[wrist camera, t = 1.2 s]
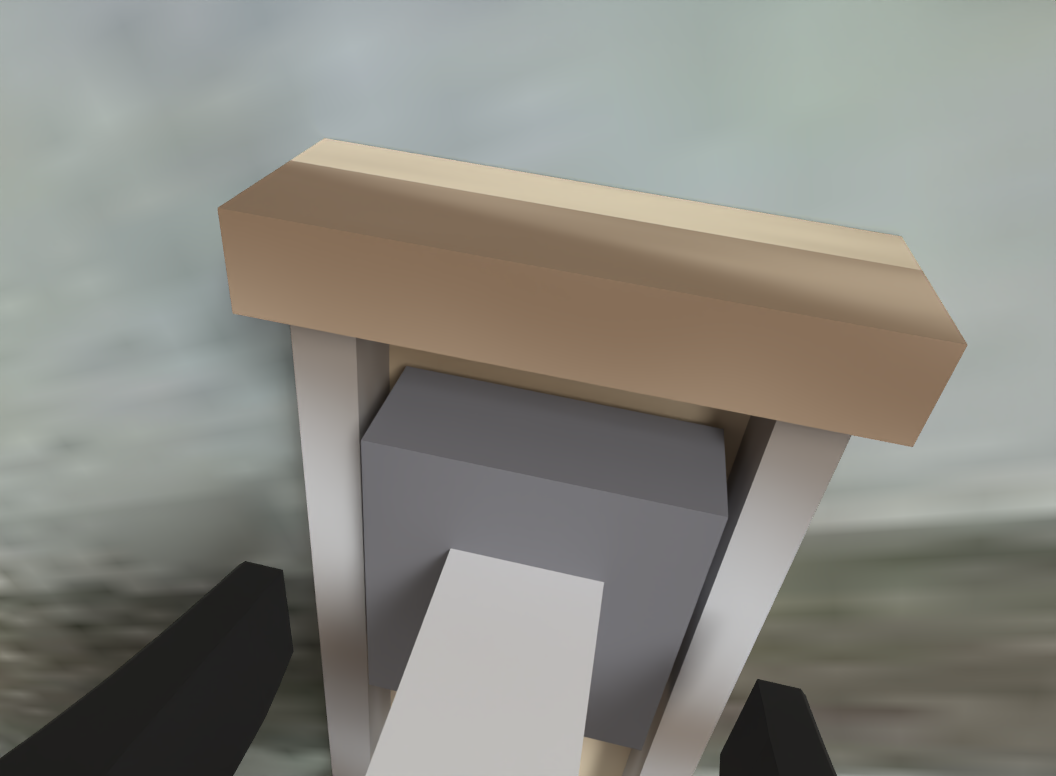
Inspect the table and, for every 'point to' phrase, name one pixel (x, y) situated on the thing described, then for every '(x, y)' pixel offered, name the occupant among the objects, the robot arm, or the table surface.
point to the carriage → (527, 571)
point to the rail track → (582, 368)
